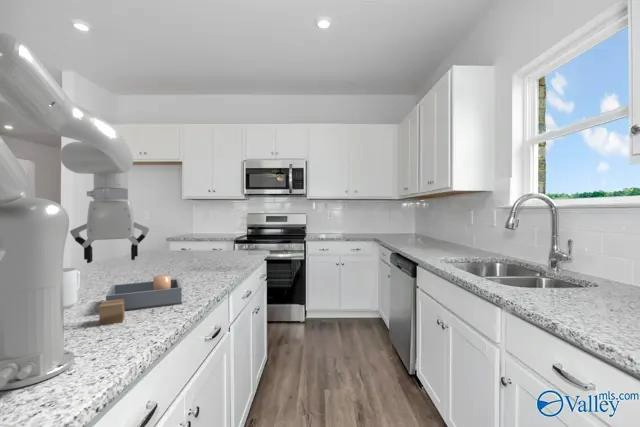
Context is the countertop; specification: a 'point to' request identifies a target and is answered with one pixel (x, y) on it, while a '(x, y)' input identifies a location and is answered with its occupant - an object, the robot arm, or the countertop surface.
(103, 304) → the walnut cube
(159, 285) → the terracotta cylinder
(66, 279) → the mug
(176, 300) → the tote
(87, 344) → the countertop surface
